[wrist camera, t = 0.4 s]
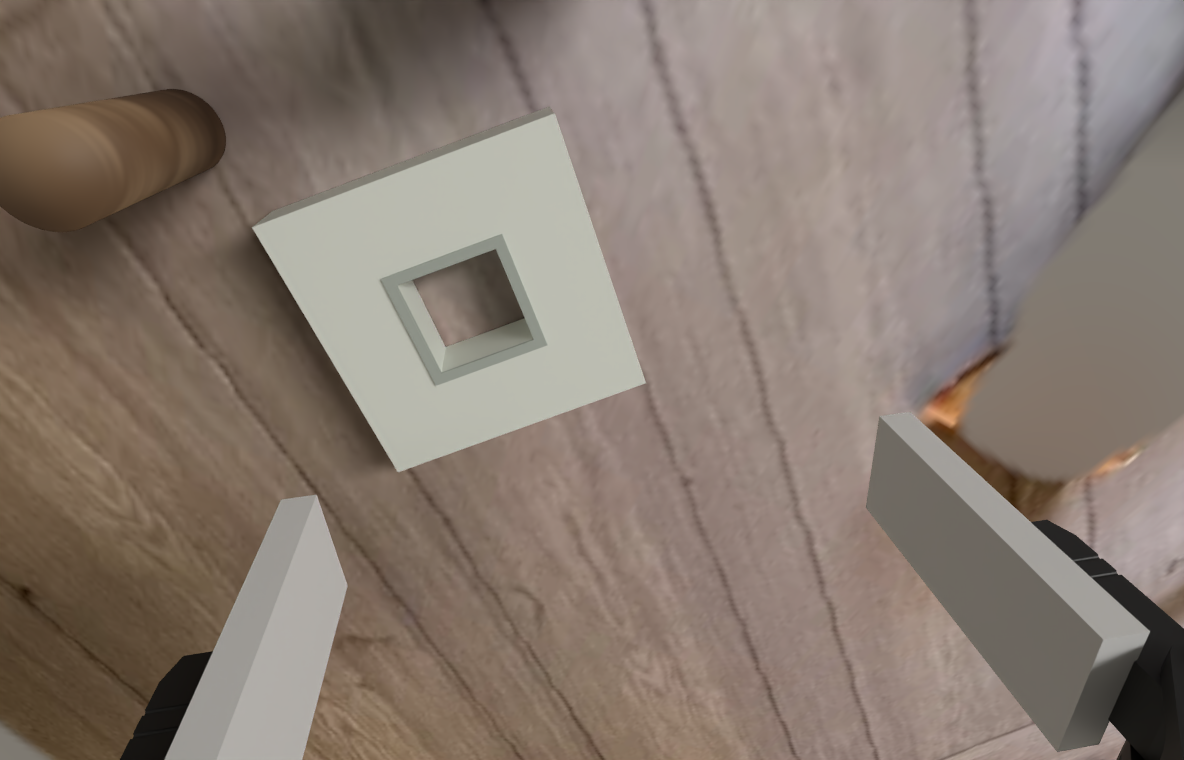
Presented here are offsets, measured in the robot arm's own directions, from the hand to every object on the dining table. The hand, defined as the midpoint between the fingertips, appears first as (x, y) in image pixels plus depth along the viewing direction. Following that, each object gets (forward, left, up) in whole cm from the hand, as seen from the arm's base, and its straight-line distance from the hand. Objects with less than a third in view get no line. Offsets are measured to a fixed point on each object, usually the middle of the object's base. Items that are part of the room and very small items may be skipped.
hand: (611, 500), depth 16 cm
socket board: (+2, -5, -26) cm, 26 cm away
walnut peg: (-11, -15, -26) cm, 32 cm away
